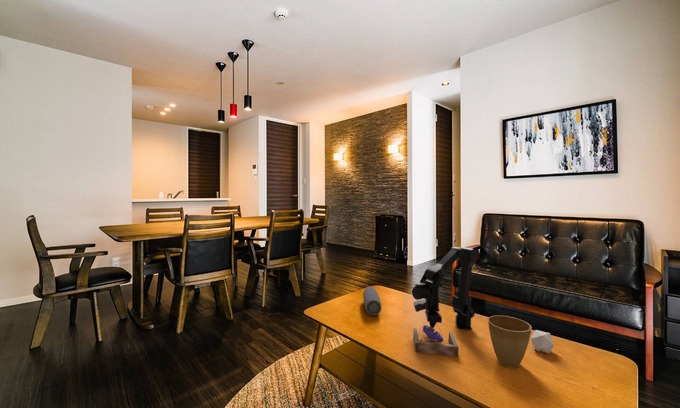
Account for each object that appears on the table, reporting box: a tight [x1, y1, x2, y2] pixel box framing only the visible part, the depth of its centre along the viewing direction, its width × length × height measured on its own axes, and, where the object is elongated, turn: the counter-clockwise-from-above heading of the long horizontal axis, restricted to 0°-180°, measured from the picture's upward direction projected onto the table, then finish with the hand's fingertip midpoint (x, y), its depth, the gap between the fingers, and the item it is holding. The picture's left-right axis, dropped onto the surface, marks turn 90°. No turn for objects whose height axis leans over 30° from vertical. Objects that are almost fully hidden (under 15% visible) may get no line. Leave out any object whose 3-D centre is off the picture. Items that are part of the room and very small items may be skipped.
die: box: [530, 329, 555, 354], centre depth 125 cm, size 8×9×10 cm
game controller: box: [418, 324, 444, 343], centre depth 131 cm, size 11×9×11 cm
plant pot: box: [487, 315, 533, 369], centre depth 116 cm, size 15×15×16 cm
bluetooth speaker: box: [362, 286, 382, 316], centre depth 168 cm, size 23×9×10 cm, turn 179°
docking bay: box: [412, 328, 459, 358], centre depth 127 cm, size 17×14×4 cm
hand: (431, 329), depth 137 cm, fingers closed
